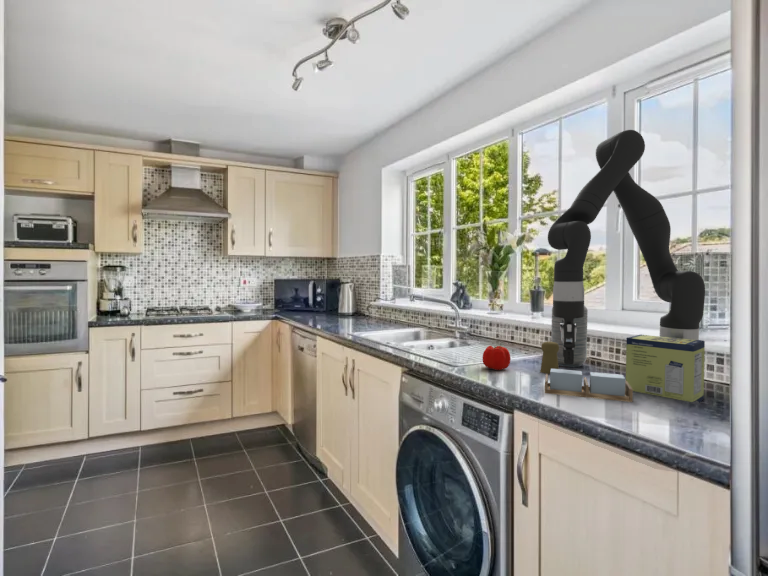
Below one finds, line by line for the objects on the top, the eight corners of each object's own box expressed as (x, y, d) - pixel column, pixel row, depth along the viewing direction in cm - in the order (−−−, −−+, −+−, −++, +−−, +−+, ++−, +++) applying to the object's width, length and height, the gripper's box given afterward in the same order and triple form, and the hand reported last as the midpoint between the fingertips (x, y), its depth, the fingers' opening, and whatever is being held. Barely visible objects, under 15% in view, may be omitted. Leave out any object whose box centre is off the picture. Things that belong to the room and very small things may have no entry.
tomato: (500, 365, 152) (501, 344, 152) (514, 371, 143) (515, 348, 143) (476, 366, 149) (477, 345, 149) (489, 372, 141) (489, 349, 141)
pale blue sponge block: (622, 394, 111) (622, 374, 111) (624, 398, 107) (625, 378, 106) (589, 390, 113) (590, 372, 113) (590, 395, 109) (591, 375, 109)
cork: (561, 379, 132) (562, 343, 132) (541, 378, 133) (541, 342, 133) (557, 374, 138) (558, 340, 138) (538, 373, 139) (538, 339, 139)
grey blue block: (581, 389, 114) (581, 371, 114) (581, 394, 110) (582, 374, 110) (550, 386, 117) (550, 368, 117) (549, 390, 113) (550, 371, 113)
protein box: (637, 388, 123) (639, 333, 122) (704, 400, 111) (706, 340, 110) (623, 395, 116) (625, 337, 115) (693, 408, 104) (695, 344, 103)
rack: (626, 398, 112) (626, 380, 112) (632, 408, 104) (632, 389, 104) (545, 390, 120) (545, 373, 120) (544, 399, 111) (544, 381, 111)
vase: (577, 369, 146) (578, 301, 145) (544, 364, 154) (546, 300, 154) (592, 365, 153) (593, 300, 153) (560, 359, 162) (561, 298, 161)
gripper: (586, 300, 104) (586, 367, 105) (582, 297, 118) (582, 356, 118) (553, 300, 107) (552, 365, 108) (552, 297, 120) (552, 355, 121)
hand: (568, 360), depth 113 cm, fingers open, 8 cm apart
